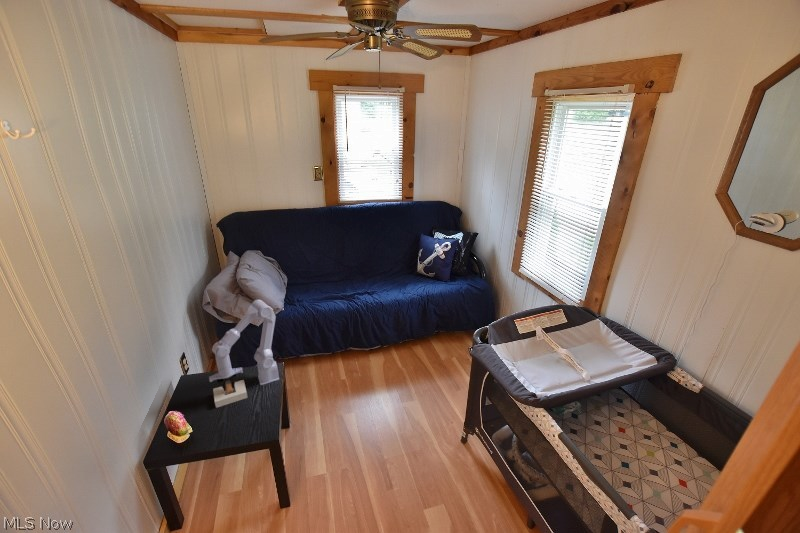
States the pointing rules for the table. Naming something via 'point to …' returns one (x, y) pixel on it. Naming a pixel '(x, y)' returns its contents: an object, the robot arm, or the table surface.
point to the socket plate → (230, 398)
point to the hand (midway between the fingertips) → (229, 388)
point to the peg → (228, 385)
